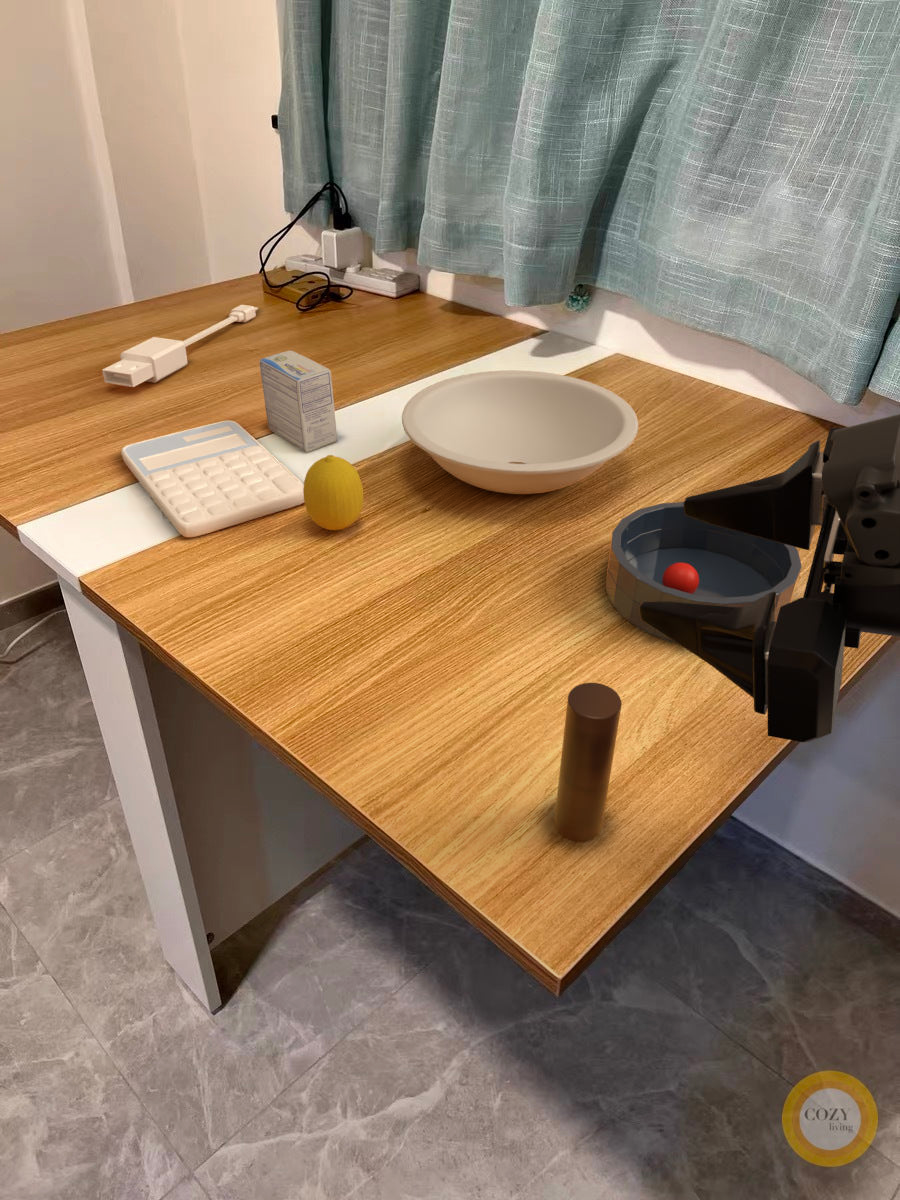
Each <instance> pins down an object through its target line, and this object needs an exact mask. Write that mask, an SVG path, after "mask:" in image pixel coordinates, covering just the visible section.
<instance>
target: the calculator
mask: <svg viewBox="0 0 900 1200" xmlns="http://www.w3.org/2000/svg"><path fill="white" fill-rule="evenodd" d="M121 457H122V458H121V459H122V460H123V462H124V464H125V465H126V467H127V469H129V470H130V472H131V473H132V475H134V477H135V478H136V479H137V481H138V482H139V484H141V486H142V487H143V488H144V489H145V491H146V492H147V494H148V495H149V496H150V497H151V498H152V500H153V502H155V504H156V505H157V506H158V508H159V509H160V510H161V512H163V514H164V515H165V516H166V517H167V519H168V520H169V521H170V523H171V525H173V526H174V528H175V529H176V530H177V532H178V533H179V534H180V535H181V536H183V537H185V538H196V537H199V536H203V535H207V534H209V533H213V532H216V531H217V532H218V531H219V530H223V529H226V528H230V527H232V526H236V525H239V524H242V523H245V522H248V521H252V520H256V519H259V518H262V517H265V516H268V515H273V514H275V513H279V512H281V511H284V510H288V509H291V508H293V507H294V508H295V507H297V506H300V505H302V504H305V503H304V494H303V488H304V482H302V481H301V480H300V479H299V478H298V477H297V476H296V475H295V474H294V473H293V472H292V471H291V470H290V469H288V468H287V467H286V466H285V464H283V463H282V462H281V461H280V460H278V458H277V457H275V456H274V454H272V453H271V452H270V451H269V450H268V449H267V448H266V447H264V445H262V444H261V443H260V442H259V441H258V440H257V439H255V437H253V435H252V434H250V433H249V431H247V430H246V429H245V428H244V427H243V426H241V425H240V424H239V423H238V422H236V421H234V420H231V419H230V420H229V419H227V420H221V421H217V422H213V423H210V424H204V425H201V426H196V427H192V428H188V429H185V430H181V431H177V432H173V433H168V434H165V435H161V436H157V437H153V438H149V439H145V440H140V441H137V442H133V443H129V444H127V445H124V446H123V447H122V449H121Z"/></svg>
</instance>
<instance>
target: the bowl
mask: <svg viewBox="0 0 900 1200" xmlns="http://www.w3.org/2000/svg"><path fill="white" fill-rule="evenodd" d="M675 563H687V564H689V565H691V566H692V567H694V569H695V570H696V571H697V573H698V576H699V584H698V587H697V589H696V591H695V592H694V593H693V594H690V593H686V592H683V591H679V590H676V589H672V588H669V587H666V586H664V585H663V583H662V578H663V574H664V572H665V570H666V569H667V568H668V567H669V566H671V565H672V564H675ZM802 565H803V564H802V562H801V557H800V553H799V549H798V548H797V547H793V546H790V545H786V544H782V543H779V542H775V541H772V540H768V539H764V538H760V537H757V536H753V535H749V534H745V533H742V532H738V531H734V530H731V529H727V528H723V527H719V526H716V525H712V524H709V523H706V522H703V521H700V520H697V519H695V518H692V517H689V516H687V515H685V513H684V501H676V502H662V503H658V504H654V505H650V506H647V507H643V508H639V509H637V510H635V511H633V512H631V513H630V514H628V515H627V516H624V517H623V518H621V520H620V521H619V522H618V524H617V525H616V526H615V527H614V529H613V531H611V539H610V547H609V555H608V561H607V568H606V569H607V570H606V578H605V579H606V580H605V592H606V595H607V597H608V599H609V602H610V603H611V605H612V606H613V608H614V609H615V610H616V611H617V613H618V614H619V615H620V616H621V617H623V618H624V619H625V620H626V621H627V622H628V623H630V624H631V625H633V626H634V627H635V628H637V629H639V630H641V631H643V632H644V633H646V634H648V635H651V636H653V637H655V638H658V639H660V640H663V641H665V642H668V643H672V644H676V645H679V644H678V643H676V642H674V641H673V640H671V639H670V638H668V637H667V636H665V635H664V634H662V633H660V632H659V631H657V630H656V629H654V628H653V627H651V626H650V625H648V624H646V623H645V622H643V621H642V620H641V618H640V611H639V607H640V605H641V603H642V602H653V601H669V602H682V603H694V604H705V605H717V606H729V607H743V606H746V605H748V604H750V603H752V602H754V601H756V600H757V599H759V598H761V597H763V596H765V595H767V594H769V593H771V592H776V621H777V618H778V614H779V610H780V607H781V606H783V605H786V604H788V603H790V602H793V598H794V596H795V593H796V589H797V585H798V581H799V578H800V575H801V574H800V573H801V572H802V568H803V567H802Z"/></svg>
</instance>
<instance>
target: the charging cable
mask: <svg viewBox="0 0 900 1200" xmlns="http://www.w3.org/2000/svg"><path fill="white" fill-rule="evenodd" d="M258 309H259V307H258V306H253V305H248V304H247V305H246V304H240V305H238V306H236V307H234V308H232V309H230V313H229V314H228V317H227V318H225V319H223V320H221V321H219V322H217V323H215V324H213V325H211V326H209V327H207V328H205V329H204V330H201V331H200V332H198V333H195V334H194V335H192V336H190V337H188V338H186V339H184V340H179V339H171V338H164V337H157V336H152V337H150V338H148V339H147V340H145V341H143V342H140V343H138V344H136V345H134V346H132V347H130V348H128V349H126V350H124V351H122V352H121V353H119V357H120V360H119V361H117V362H115V363H113V364H111V365H109V366H107V367H104V368H103V369H101V370H102V371H101V372H102V377H103V380H104V383H105V384H110V385H111V384H112V385H116V386H123V387H130V388H134V387H136V386H138V385H140V384H142V383H144V382H149V383H157V382H159V381H161V380H163V379H165V378H167V377H168V376H171V375H172V374H174V373H175V372H177V371H179V370H181V369H183V368H185V367H186V366H187V365H188V364H189V362H188V356H187V350H186V349H187V347H189V346H190V345H192V344H194V343H196V342H198V341H199V340H202V339H204V338H206V337H207V336H209V335H211V334H213V333H215V332H216V331H219V330H220V329H222V328H225V327H226V326H228V325H230V324H232V323H234V322H237V323H247V322H249V321H250V320H252V319H254V318H256V316H257V313H256V311H258Z"/></svg>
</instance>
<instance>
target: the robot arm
mask: <svg viewBox="0 0 900 1200" xmlns="http://www.w3.org/2000/svg"><path fill="white" fill-rule="evenodd" d="M683 502H684V513H685V515H687V516H689V517H692V518H695V519H697V520H700V521H703V522H706V523H709V524H712V525H716V526H719V527H723V528H727V529H731V530H734V531H738V532H742V533H745V534H749V535H753V536H757V537H760V538H764V539H768V540H772V541H775V542H779V543H782V544H786V545H790V546H793V547H796V548H797V549H801V550H805V551H810V549H811V544H812V541H813V537H814V533H815V529H816V527H820V529H819V533H818V538H817V542H816V546H815V550H814V552H813V553H814V554H813V557H812V562H811V565H810V569H809V574H808V576H807V579H806V580H807V581H806V585H805V588H804V592H803V597H800V598H797V599H795V600H792V602H790V603H788V604H786V605H783V606H781V607H780V610H779V614H778V618H777V621H776V592H771V593H769V594H767V595H765V596H763V597H761V598H759V599H757V600H756V601H754V602H752V603H750V604H748V605H746V606H743V607H729V606H717V605H705V604H694V603H682V602H669V601H653V602H642V603H641V605H640V607H639V611H640V618H641V620H642V621H643V622H645V623H646V624H648V625H650V626H651V627H653V628H654V629H656V630H657V631H659V632H660V633H662V634H664V635H665V636H667V637H668V638H670V639H671V640H673V641H674V642H676V643H678V644H677V645H679V646H681V647H682V648H684V649H685V650H687V651H688V652H690V653H691V654H693V655H694V656H696V657H698V658H699V659H701V660H702V661H703V662H705V663H707V664H708V665H710V666H711V667H712V668H714V669H715V670H717V671H718V672H719V673H720V674H722V675H723V676H724V677H725V678H727V679H728V680H729V681H730V682H732V683H733V684H734V685H736V687H738V688H739V689H741V691H744V692H745V693H746V694H747V695H749V696H750V697H751V698H752V699H753V711H754V713H757V714H759V715H766V714H767V737H771V738H778V739H783V740H788V741H793V742H799V743H810V742H813V741H815V740H819V739H820V738H823V737H826V736H828V735H831V734H832V733H833V732H832V731H833V726H834V721H835V716H836V711H837V707H838V706H837V705H838V700H839V696H840V691H841V686H842V680H843V666H844V655H845V654H844V653H845V652H844V651H845V648H852V649H859V647H860V643H861V642H860V641H861V637H862V633H867V634H875V635H883V636H890V637H891V636H892V637H898V638H900V413H899V414H894V415H891V416H887V417H883V418H878V419H875V420H871V421H866V422H863V423H858V424H854V425H851V426H847V427H829V431H828V435H827V438H826V442H825V445H824V449H823V451H821V441H820V440H816V441H814V442H812V443H811V444H810V445H809V446H808V448H807V450H806V451H805V453H804V454H802V455H801V456H800V457H799V458H798V459H797V460H796V461H795V462H794V463H793V464H791V465H790V466H789V467H788V468H786V469H785V470H783V471H782V472H779V473H776V474H773V475H770V476H767V477H763V478H760V479H757V480H752V481H748V482H745V483H740V484H736V485H731V486H727V487H724V488H720V489H714V490H711V491H708V492H702V493H699V494H695V495H690V496H687V497H686V498H685V499H684V500H683ZM835 555H842V561H835V560H834V557H835ZM822 590H823V591H822ZM676 643H675V644H676Z"/></svg>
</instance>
